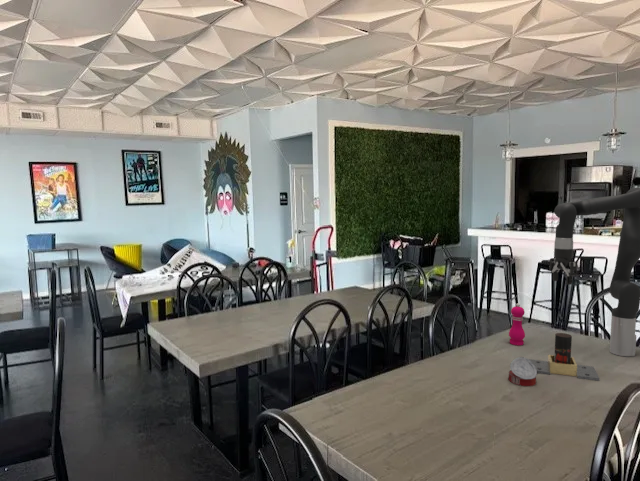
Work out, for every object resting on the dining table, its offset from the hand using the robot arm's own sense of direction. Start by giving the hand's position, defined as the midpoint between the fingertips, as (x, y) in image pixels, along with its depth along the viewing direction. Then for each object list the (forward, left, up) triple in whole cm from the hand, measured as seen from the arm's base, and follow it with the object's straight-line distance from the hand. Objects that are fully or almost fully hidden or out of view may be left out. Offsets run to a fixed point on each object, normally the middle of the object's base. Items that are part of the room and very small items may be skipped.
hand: (562, 282), depth 208 cm
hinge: (+2, +26, -32) cm, 41 cm away
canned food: (+17, +43, -32) cm, 57 cm away
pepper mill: (+18, -4, -32) cm, 37 cm away
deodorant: (+1, +26, -32) cm, 42 cm away
